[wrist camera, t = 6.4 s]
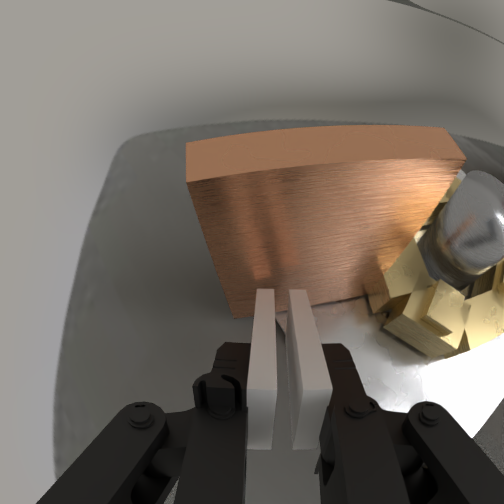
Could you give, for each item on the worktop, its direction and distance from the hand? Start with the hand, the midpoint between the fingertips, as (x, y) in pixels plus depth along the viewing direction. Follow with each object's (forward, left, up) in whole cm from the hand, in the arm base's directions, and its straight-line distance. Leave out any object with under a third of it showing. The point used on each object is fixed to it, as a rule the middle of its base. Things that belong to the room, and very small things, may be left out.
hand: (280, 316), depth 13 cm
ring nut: (-9, +1, -4) cm, 10 cm away
